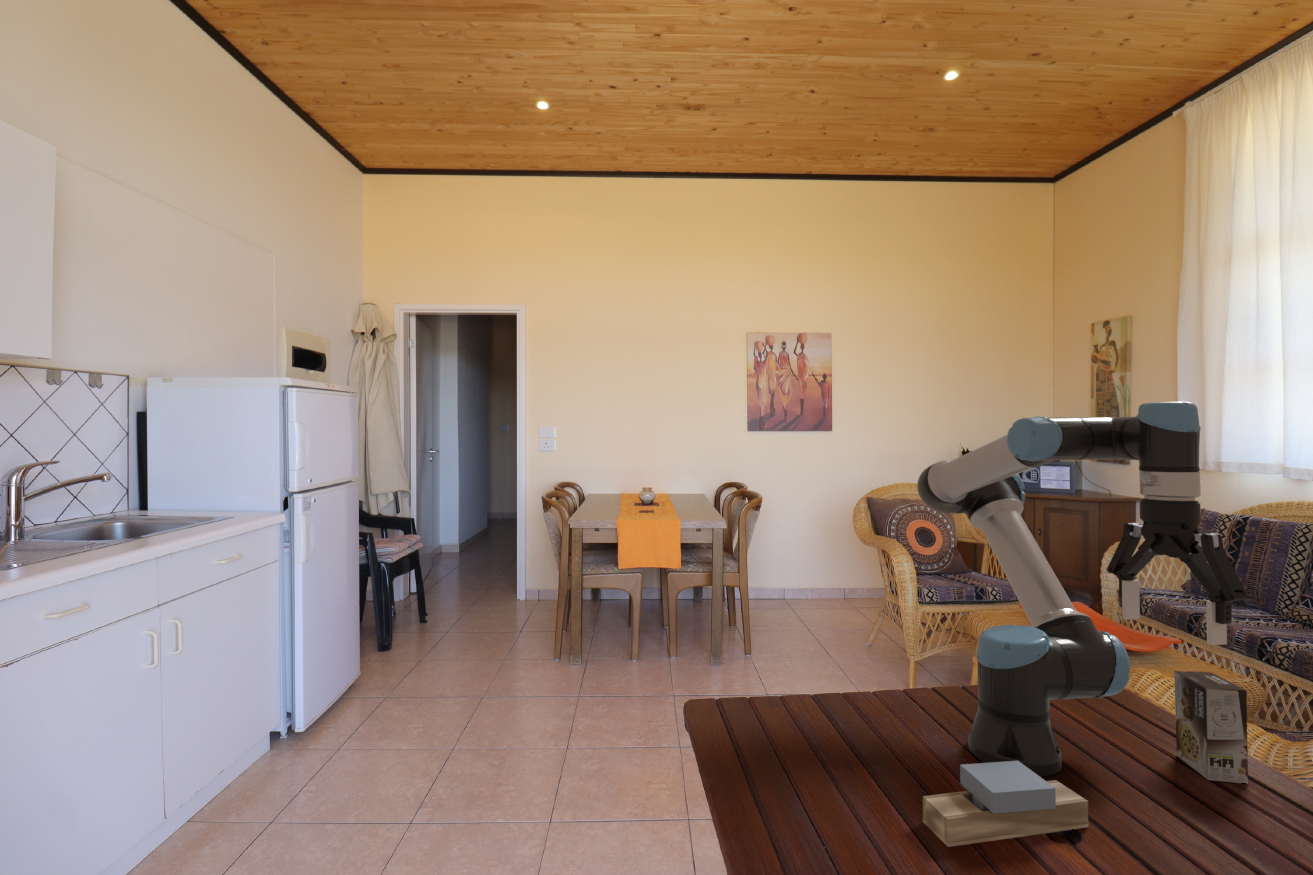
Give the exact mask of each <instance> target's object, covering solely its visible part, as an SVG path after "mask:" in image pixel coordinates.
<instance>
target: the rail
mask: <svg viewBox="0 0 1313 875" xmlns="http://www.w3.org/2000/svg"><path fill="white" fill-rule="evenodd" d="M1045 781H1046V782H1048V783H1049V784H1050V785H1052V786H1053V787H1055V789H1056V808H1055V809H1042V810H1030V811H1017V812H1005V813H992V812H991V811H981V810H980V809H978V808H977V807H976V806H975V805H974V804H973V795H972V794H971V793H970V792H969V791H968V790H963V791H962V790H961V791H955V792H946V793H939V794H931V795H930V794H929V795H923V796H922V823H924V825H925V826H926V827H927V828H928V829H929V830H930V831H932V832H933V834H934V835H935V836H936V837H937V838H939V840H941V841H942V842H943V844H944V845H945V846H947V848H951V847H957V846H964V845H972V844H981V843H986V842H994V841H1001V840H1007V839H1009V840H1010V839H1014V838H1022V837H1029V836H1035V835H1043V834H1050V833H1058V832H1064V831H1065V832H1066V831H1072V829H1073V830H1078V829H1086V828H1089V800H1087V799H1086V798H1084V797H1083V796H1081V795H1079V794H1078V793H1077V792H1075V791H1073V789H1071V788H1069V787H1067V786H1066V785H1064V784H1063V783H1061V782H1059V780H1056V779H1054V780H1045Z"/></svg>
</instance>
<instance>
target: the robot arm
mask: <svg viewBox="0 0 1313 875" xmlns="http://www.w3.org/2000/svg"><path fill="white" fill-rule="evenodd" d="M1137 409H1138V410H1137V411H1138V413H1137V415H1136V416H1110V417H1109V416H1108V417H1107V416H1105V417H1104V416H1102V417H1101V416H1100V417H1099V416H1097V417H1096V416H1095V417H1094V416H1093V417H1091V416H1090V417H1087V416H1086V417H1084V416H1083V417H1081V416H1080V417H1076V416H1075V417H1072V416H1069V417H1067V416H1066V417H1065V416H1060V417H1059V416H1055V417H1054V416H1053V417H1052V416H1039V415H1038V416H1033V417H1022V418H1019V419H1017V420H1016V421H1013V423H1012V426H1011V427H1010V428H1009V429H1008V432H1007V434H1006V435H1003V436H1002V437H999V438H998V439H997V438H996V439H995V440H993V441H991V442H989V443H987V444H985V445H982V446H980V447H978V448H976V449H974V450H971V451H969V452H967V453H965V454H963V455H961V456H959V457H957V458H955V459H952V460H946V459H945V460H940V461H936V462H935V463H933V464H931V465H929V466H928V467H926V468H925V469H924V470H922V472H921V474H920V475H919V476H918V479H917V485H916V487H917V492H918V495H919V498H920V499H921V501H922V503H924V504H925V505H926V506H927V507H928V508H930V509H931V510H934V511H936V512H939V513H942V514H953V515H954V514H955V515H956V514H957V515H958V514H965V515H966V517H967V519H968V520H969V522H970V524H971V526H972V527H974V528H975V529H978V530H981V531H982V533H983V534H984V536H985V538H986V540H987V542H988V544H989V546H990V548H991V550H992V552H993V554H994V556H995V558H996V560H997V561H998V563H999V565H1000V568H1001V569H1002V571H1003V573H1004V575H1005V577H1006V579H1007V580H1008V582H1009V584H1010V586H1011V588H1012V591H1013V592H1014V594H1015V596H1016V598H1017V599H1018V601H1019V604H1020V606H1021V608H1022V609H1023V611H1024V613H1025V616H1026V617H1027V619H1028V621H1029V623H1030V626H1029V625H1023V624H1022V625H1021V624H1020V625H1014V624H1004V625H1003V624H1002V625H996V626H992V627H989V628H987V629H984V630H983V631H982V632H981V633H980V635H979V637H978V641H977V651H976V659H977V690H978V692H977V698H978V699H977V700H978V701H977V702H978V703H977V705H978V707H977V711H976V714H975V717H974V721H973V723H972V727H971V728H970V730H969V732H968V750H969V751H970V753H971V754H972V755H973V756H974V757H975V758H976V759H978V760H979V761H981V762H982V763H991V762H1005V761H1019V762H1021V763H1022V764H1023V765H1025V766H1026V767H1027V768H1029V769H1030V770H1031V771H1033V772H1034V773H1036V774H1037V775H1038V776H1040V777H1047V776H1052V775H1053V776H1054V775H1055V774H1057V773H1059V772H1060V771H1061V770H1062V762H1063V761H1062V760H1063V759H1062V752H1061V748H1060V747H1059V745H1058V741H1057V737H1056V735H1055V732H1054V730H1053V726H1052V724H1051V721H1050V720H1051V719H1050V701H1055V700H1072V699H1101V698H1105V697H1110V696H1115V695H1118V694H1120V693H1121V692H1122V691H1123V690H1124V689H1125V688H1126V687H1127V684H1128V682H1129V680H1130V673H1131V663H1130V658H1129V654H1128V652H1127V650H1126V648H1125V646H1124V644H1123V643H1122V641H1121V640H1120V639H1119V638H1118V637H1117V636H1115V635H1112V634H1111V633H1110V632H1107V631H1106V630H1098V629H1097V626H1096V625H1095V624H1094V622H1093V620H1092V619H1091V617H1090V616H1089V615H1088V614H1086V613H1082V612H1079V611H1077V609H1076V608H1075V606H1074V605H1073V603H1072V601H1071V599H1070V598H1069V595H1068V594H1067V592H1066V590H1065V589H1064V587H1063V585H1062V584H1061V582H1060V580H1059V578H1058V577H1057V575H1056V573H1055V572H1054V571H1053V568H1052V566H1051V564H1050V563H1049V562H1048V560H1047V558H1046V556H1045V554H1044V553H1043V551H1042V549H1041V548H1040V546H1039V544H1038V542H1037V540H1036V539H1035V537H1034V535H1033V534H1032V532H1031V531H1030V529H1029V527H1028V525H1027V524H1026V522H1025V520H1024V519H1023V517H1022V513H1023V511H1024V503H1025V500H1026V492H1024V490H1025V484H1024V481H1023V479H1022V477H1021V476H1020V475H1019V474H1021V473H1025V472H1027V471H1029V470H1032V469H1035V468H1037V467H1038V468H1039V467H1041V466H1044V465H1046V464H1048V463H1052V462H1056V461H1083V460H1084V461H1089V460H1090V461H1092V460H1093V461H1097V460H1099V461H1101V460H1102V461H1111V460H1112V461H1115V460H1116V461H1117V460H1118V461H1121V460H1122V461H1128V460H1129V461H1138V471H1139V473H1138V474H1139V475H1138V476H1139V494H1140V495H1142V496H1144V497H1143V498H1141V499H1140V500H1139V519H1140V520H1141V521H1142V522H1143V523H1140V522H1129V523H1128V522H1127V523H1124V524H1123V529H1122V530H1123V531H1122V537H1121V539H1120V541H1119V543H1118V544H1117V546H1116V549H1115V550H1114V553H1113V555H1112V556H1111V559H1110V561H1109V563H1108V566H1107V567H1106V571H1107V573H1108V574H1113V575H1114V576H1116V578H1117V580H1118V595H1119V598H1121V603H1122V604H1121V607H1122V608H1121V609H1122V610H1121V611H1122V612H1121V613H1122V616H1121V618H1122V619H1123V620H1127V621H1128V620H1139V619H1141V613H1140V612H1141V611H1140V610H1141V609H1140V608H1141V606H1140V604H1141V603H1140V595H1141V594H1140V580H1138V577H1137V575H1138V574H1139V573H1140V572H1141V571H1142V570H1143V569H1144V568H1145V567H1146V566H1147V565H1148V564H1149V563H1150V562H1151V561H1152V560H1153V559H1154V558H1155V556H1166V557H1169V558H1173V559H1175V558H1176V559H1179V560H1180V562H1182V563H1184V564H1185V565H1186V566H1187V567H1188V569H1189V570H1190V571H1191V573H1192V574H1193V576H1194V577H1195V578H1196V579H1197V581H1198V582H1199V583H1200V584H1201V586H1202V587H1203V589H1204V591H1206V592H1207V594H1208V595H1209V596H1210V599H1205V604H1206V606H1205V611H1206V614H1205V615H1206V618H1205V620H1206V645H1210V646H1222V645H1228V625H1229V624H1230V625H1231V624H1232V618H1233V616H1232V610H1233V609H1232V608H1233V607H1232V605H1233V603H1234V602H1236V601H1245V600H1247V599H1248V597H1249V596H1248V594H1247V591H1246V589H1245V587H1244V586H1243V584H1242V581H1241V580H1240V578H1239V576H1238V574H1237V572H1236V570H1235V568H1234V566H1233V564H1232V562H1231V561H1230V559H1229V557H1228V554H1227V553H1226V550H1225V549H1224V542H1223V537H1222V536H1223V535H1222V534H1220V533H1218V532H1216V533H1212V532H1211V533H1200V531H1199V529H1198V527H1199V525H1200V524H1201V517H1202V514H1201V502H1199V500H1196V498H1200V496H1202V495H1201V494H1202V493H1201V492H1202V491H1201V472H1200V439H1201V438H1200V436H1201V426H1200V418H1199V408H1198V406H1197V405H1196V404H1195V403H1193V402H1190V401H1160V402H1159V401H1155V402H1147V403H1141V404H1140V405H1139V406H1138V408H1137ZM1142 537H1143V539H1144V541H1143V542H1142V543H1141V544H1140V545H1139V543H1140V541H1141V539H1142ZM1138 545H1139V546H1138ZM1198 546H1199V547H1201V548H1202V551H1201V549H1200V548H1199V547H1198ZM1136 549H1137V551H1136ZM1135 551H1136V552H1135ZM1205 558H1206V559H1205Z"/></svg>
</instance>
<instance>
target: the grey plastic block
mask: <svg viewBox="0 0 1313 875" xmlns="http://www.w3.org/2000/svg"><path fill="white" fill-rule="evenodd" d="M959 766H960V767H959V772H960V773H959V777H960V778H959V780H960V782H959V783H960V784H961V786H963V787H964V789H966V791H969V792H970V793H971V794H972V795H973V804H974V805H975V806H976V807H977V808H978V809H980V810H981V811H991V812H992V813H1005V812H1017V811H1030V810H1042V809H1055V808H1056V789H1055V787H1053V786H1052V785H1050V784H1049V783H1048V782H1046V781H1047V780H1045V779H1044V778H1042V776H1038V775H1037V774H1036V773H1034V772H1033V771H1031V770H1030V769H1029V768H1027V767H1026V766H1025V765H1023V764H1022V763H1021V762H1019V761H1005V762H991V763H984V762H980V763H978V762H977V763H965V764H964V763H963V764H960V765H959Z"/></svg>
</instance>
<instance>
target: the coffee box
mask: <svg viewBox="0 0 1313 875" xmlns="http://www.w3.org/2000/svg"><path fill="white" fill-rule="evenodd" d="M1247 693H1248V690H1247V689H1245V688H1243V687H1241V686H1239V685H1238V684H1235V683H1233V682H1231V681H1229V680H1227V679H1226V678H1223V677H1221V676H1219V675H1217V674H1216V673H1213V672H1210V671H1181V670H1174V705H1175V707H1174V709H1175V736H1176V737H1175V738H1176V739H1175V741H1176V742H1175V743H1176V757H1178V758H1179V759H1180V760H1181V761H1183V762H1184V763H1185V764H1186V765H1188V766H1189V767H1190V768H1192V769H1193V770H1195V772H1197V773H1198V774H1200V775H1201V776H1202V777H1203V778H1205V779H1206V780H1208V781H1212V782H1213V781H1214V782H1223V783H1224V782H1225V783H1233V784H1241V783H1246V784H1245V785H1248V783H1249V768H1248V767H1249V762H1248V761H1249V758H1248V757H1249V756H1248V755H1249V752H1248V701H1247V700H1248V695H1247Z"/></svg>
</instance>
